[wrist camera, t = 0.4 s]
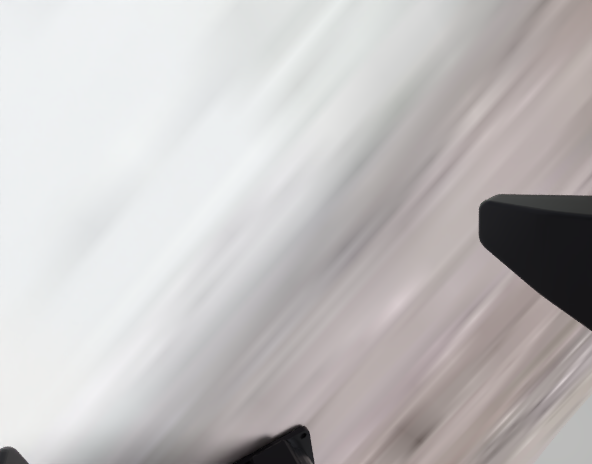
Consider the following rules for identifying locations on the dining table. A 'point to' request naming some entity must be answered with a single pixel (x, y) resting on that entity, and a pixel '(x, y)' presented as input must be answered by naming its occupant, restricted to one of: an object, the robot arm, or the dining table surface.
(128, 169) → the dining table surface
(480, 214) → the robot arm
